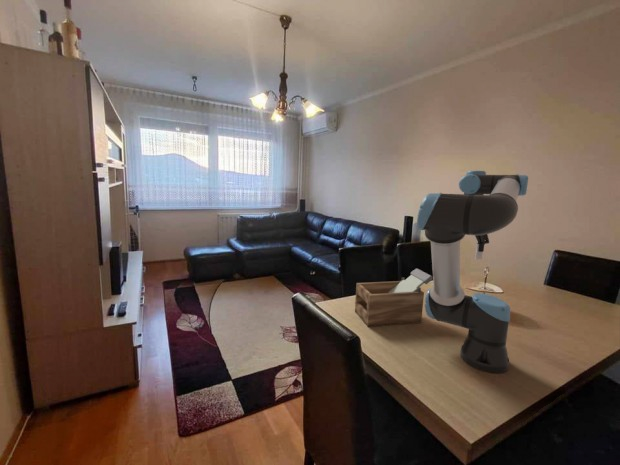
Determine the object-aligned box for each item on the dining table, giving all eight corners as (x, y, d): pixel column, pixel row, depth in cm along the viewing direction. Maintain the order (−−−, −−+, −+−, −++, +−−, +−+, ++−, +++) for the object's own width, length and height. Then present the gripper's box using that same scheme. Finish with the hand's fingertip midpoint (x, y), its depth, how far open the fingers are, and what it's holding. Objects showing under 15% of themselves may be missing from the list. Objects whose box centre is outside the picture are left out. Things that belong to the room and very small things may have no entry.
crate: (421, 322, 133) (424, 288, 131) (367, 326, 128) (369, 291, 125) (403, 308, 149) (405, 276, 146) (354, 311, 143) (356, 279, 141)
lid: (433, 278, 133) (431, 275, 132) (401, 304, 132) (399, 301, 131) (418, 271, 145) (416, 268, 144) (389, 294, 143) (387, 291, 143)
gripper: (503, 210, 115) (496, 262, 119) (459, 205, 139) (454, 248, 143) (487, 209, 113) (480, 262, 117) (445, 205, 138) (441, 249, 141)
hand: (466, 255), depth 130 cm, fingers open, 13 cm apart
